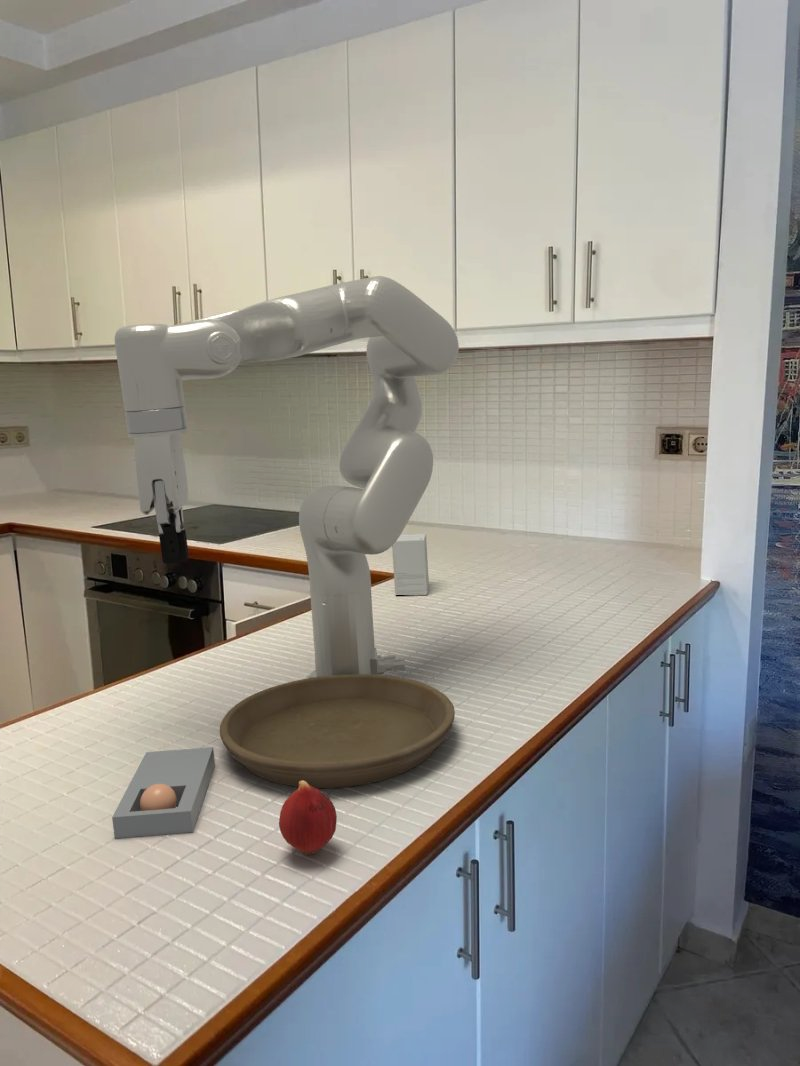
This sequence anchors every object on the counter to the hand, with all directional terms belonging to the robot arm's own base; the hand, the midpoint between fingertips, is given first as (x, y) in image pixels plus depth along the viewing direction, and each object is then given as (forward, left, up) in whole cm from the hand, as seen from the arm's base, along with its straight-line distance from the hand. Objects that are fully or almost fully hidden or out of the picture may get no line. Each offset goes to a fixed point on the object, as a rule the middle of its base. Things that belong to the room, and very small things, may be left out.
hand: (176, 560), depth 111 cm
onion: (-17, +32, -25) cm, 44 cm away
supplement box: (-36, -70, -25) cm, 83 cm away
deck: (0, +18, -25) cm, 31 cm away
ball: (0, +22, -23) cm, 32 cm away
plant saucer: (-20, +5, -26) cm, 33 cm away
